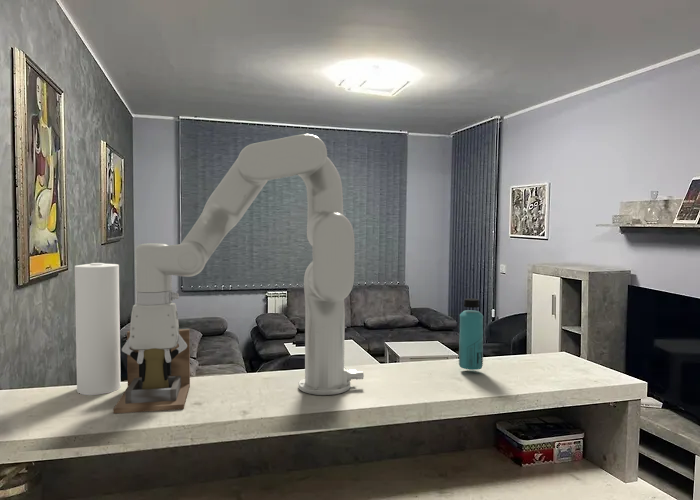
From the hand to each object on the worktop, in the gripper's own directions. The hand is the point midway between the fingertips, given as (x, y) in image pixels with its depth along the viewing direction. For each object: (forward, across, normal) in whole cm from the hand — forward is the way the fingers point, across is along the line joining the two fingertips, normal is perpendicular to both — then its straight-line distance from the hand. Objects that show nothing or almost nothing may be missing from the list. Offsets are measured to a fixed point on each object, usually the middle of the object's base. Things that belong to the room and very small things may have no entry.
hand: (155, 378), depth 119 cm
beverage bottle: (+5, -80, -7) cm, 80 cm away
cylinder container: (+5, +14, -10) cm, 18 cm away
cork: (+3, 0, 0) cm, 3 cm away
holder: (+5, 0, 0) cm, 5 cm away
